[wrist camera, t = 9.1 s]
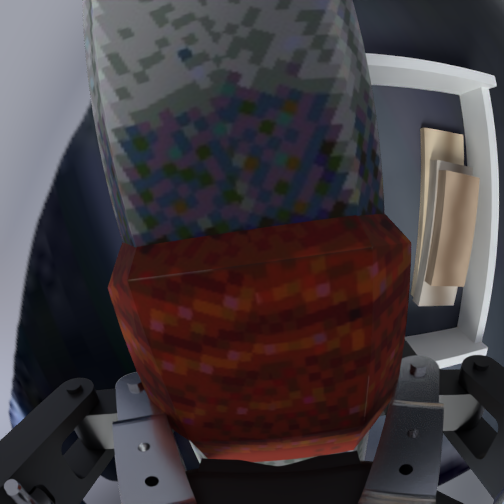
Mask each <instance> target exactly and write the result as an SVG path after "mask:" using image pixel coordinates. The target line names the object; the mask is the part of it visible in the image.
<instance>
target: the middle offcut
mask: <svg viewBox="0 0 504 504" xmlns="http://www.w3.org/2000/svg"><path fill="white" fill-rule="evenodd" d="M439 170H448V171H452V172H457V173H461V174H465V175H470V176H472V175H473V168H472V167H468V166H463V165H459V164H454V163H450V162H445V161H440V160H430V169H429V187H428V200H427V211H426V221H425V229H424V237H423V245H422V252H421V258H420V265H419V271H418V276H417V282H416V287H415V292H414V297H413V302H414V303H416V304H417V305H418V306H448V305H454V301H455V297H456V293H457V288H458V287H457V286H430V285H429V284H428V283H426V282H425V276H426V271H427V265H428V259H429V253H430V247H431V241H432V234H433V226H434V218H435V209H436V199H437V187H438V172H439Z"/></svg>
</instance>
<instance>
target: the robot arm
mask: <svg viewBox="0 0 504 504" xmlns="http://www.w3.org/2000/svg"><path fill="white" fill-rule="evenodd" d="M485 409H486V410H487V411H488V412H489V413H490V414H491V415H492V416H493V417H494V418H495V419H496V421H497V423H498V433H497V432H496V431H495V430H494V429H493V428H492V427H491V426H490V425H489V424H488V423H487V422H486V421H485V420H484V419H483V418H482V415H483V412H484V410H485ZM382 415H386V419H385V423H384V427H383V430H382V434H381V437H380V441H379V444H378V448H377V451H376V454H375V457H374V461H373V462H371V461H360V459H359V455H358V452H357V451H351V452H344V453H337V454H329V455H320V456H317V457H313V458H310V459H306V460H303V461H299V462H295V463H292V464H288V465H284V466H273V465H266V464H260V463H254V462H249V461H244V460H232V459H206V458H201V463H200V467H199V469H193V470H188V471H187V469H186V467H185V464H184V461H183V458H182V456H181V453H180V450H179V447H178V444H177V441H176V438H175V435H174V430H173V429H172V428H171V426H170V423H169V420H168V417H167V414H166V412H164V411H163V410H162V409H160V408H159V407H158V406H157V405H156V404H154V403H153V402H152V401H151V400H150V399H149V397H148V396H147V393H146V391H145V389H144V386H143V384H142V382H141V379H140V377H139V375H138V372H135V373H131V374H128V375H126V376H124V377H122V378H121V379H120V380H119V381H118V382H117V384H116V389H108V390H98V391H96V390H95V388H94V385H93V383H92V382H91V381H90V380H88V379H85V378H75V379H71V380H68V381H66V382H64V383H63V384H62V385H60V386H59V387H58V388H57V389H56V390H55V391H54V392H53V393H51V394H50V395H49V396H48V397H47V398H46V399H45V400H44V401H43V402H42V403H40V404H39V405H38V406H37V407H36V408H35V409H34V410H33V411H32V412H31V413H29V414H28V415H27V416H26V417H25V418H24V419H23V420H22V421H21V422H20V423H19V424H18V425H16V426H15V427H14V428H13V429H12V430H11V431H10V432H9V433H8V434H7V435H6V436H5V437H4V438H3V439H1V441H0V504H80V502H81V501H82V500H83V498H84V497H85V495H86V494H87V493H88V491H89V490H90V488H91V487H92V486H93V484H94V483H95V481H96V480H97V478H98V477H99V476H100V475H101V473H102V472H103V470H104V469H105V468H106V466H107V465H108V463H109V462H110V461H111V459H112V458H113V456H114V455H115V461H116V469H117V477H118V483H119V491H120V497H121V503H122V504H463V503H461V502H459V501H457V500H455V499H453V498H451V497H449V496H447V495H445V494H443V493H441V492H439V491H437V485H438V478H439V470H440V462H441V451H442V438H443V433H444V435H445V436H446V437H447V439H448V440H449V441H450V442H451V444H452V445H453V446H454V448H455V449H456V450H457V451H458V453H459V454H460V455H461V457H462V458H463V459H464V460H465V462H466V463H467V464H468V466H469V467H470V468H471V470H472V471H473V472H474V473H475V475H476V476H477V477H478V479H479V480H480V481H481V483H482V484H483V485H484V487H485V488H486V489H487V491H488V492H489V493H490V495H491V496H492V497H493V499H494V503H493V504H504V367H503V366H501V365H500V364H499V363H497V362H496V361H495V360H493V359H492V358H490V357H487V356H484V355H472V356H469V357H467V358H465V359H464V360H463V362H462V365H461V369H460V370H441V369H439V365H438V364H437V362H436V361H434V360H433V359H431V358H429V357H426V356H420V355H417V354H416V353H415V351H414V350H413V349H412V347H411V346H410V345H409V343H408V342H407V341H405V339H404V347H403V354H402V361H401V367H400V373H399V378H398V379H397V380H396V382H395V383H394V386H393V391H392V396H391V399H390V402H389V403H388V405H387V406H386V408H385V409H384V411H383V412H382V413H381V415H380V416H382ZM73 430H75V431H76V433H77V435H78V437H79V438H78V439H77V440H76V442H75V443H74V444H73V445H72V446H71V447H70V449H69V450H68V451H67V452H66V453H65V454H64V455H63V456H62V453H61V445H62V443H63V441H64V440H65V439H66V438H67V437H68V436H69V435H70V433H71V432H72V431H73Z"/></svg>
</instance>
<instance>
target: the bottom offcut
mask: <svg viewBox="0 0 504 504" xmlns="http://www.w3.org/2000/svg"><path fill="white" fill-rule="evenodd" d="M420 132H421V194H420V214H419V228H418V240H417V250H416V259H415V267H414V275H413V282H412V289H411V295H412V296H413V297H414V292H415V287H416V282H417V276H418V271H419V265H420V258H421V252H422V245H423V237H424V229H425V221H426V211H427V200H428V187H429V169H430V160H440V161H445V162H450V163H454V164H459V165H463V166H464V145H463V135H461V134H456V133H451V132H446V131H441V130H436V129H430V128H421V129H420Z"/></svg>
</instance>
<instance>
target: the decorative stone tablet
mask: <svg viewBox="0 0 504 504" xmlns="http://www.w3.org/2000/svg"><path fill="white" fill-rule="evenodd" d="M82 1H83V26H84V39H85V40H84V41H85V52H86V63H87V71H88V80H89V88H90V95H91V102H92V109H93V115H94V121H95V127H96V133H97V138H98V143H99V148H100V153H101V158H102V163H103V168H104V172H105V177H106V181H107V185H108V189H109V193H110V197H111V201H112V205H113V209H114V213H115V217H116V221H117V224H118V228H119V231H120V235H121V238H122V245H121V248H120V251H119V254H118V257H117V260H116V263H115V266H114V270H113V273H112V276H111V279H110V282H109V286H108V290H109V293H110V297H111V300H112V303H113V306H114V309H115V312H116V315H117V318H118V321H119V324H120V327H121V330H122V333H123V336H124V338H125V341H126V344H127V346H128V349H129V352H130V354H131V357H132V360H133V362H134V365H135V367H136V370H137V372H138V375H139V377H140V379H141V382H142V384H143V386H144V389H145V391H146V393H147V396H148V397H149V399H150V400H151V401H152V402H153V403H154V404H156V405H157V406H158V407H159V408H160V409H162V410H163V411H164V412H166V414H167V417H168V420H169V423H170V426H171V428H172V429H173V430H175V431H176V432H177V433H179V434H180V435H182V436H183V437H185V438H186V439H188V440H189V441H190V443H191V445H192V448H193V450H194V452H195V454H196V456H197V458H198V460H199V462H200V463H201V458H206V459H232V460H244V461H249V462H254V463H260V464H266V465H273V466H284V465H288V464H292V463H295V462H299V461H303V460H306V459H310V458H313V457H317V456H320V455H329V454H337V453H344V452H351V451H357V452H358V455H359V459H360V461H364V459H365V453H366V447H367V441H368V435H369V430H370V428H371V427H372V426H373V424H374V423H375V422H376V420H377V419H378V418H379V416H380V415H381V413H382V412H383V411H384V409H385V408H386V406H387V405H388V403H389V402H390V399H391V396H392V391H393V386H394V383H395V382H396V380H397V379H398V378H399V373H400V367H401V361H402V354H403V347H404V339H405V331H406V322H407V312H408V300H409V287H410V268H411V242H410V241H409V240H408V238H407V237H406V236H405V235H404V234H403V233H402V232H401V231H400V230H399V229H398V227H397V226H396V225H395V224H394V223H393V222H392V221H391V220H390V219H389V218H388V217H387V216H386V215H385V214H384V194H383V178H382V165H381V154H380V144H379V135H378V127H377V119H376V112H375V105H374V98H373V92H372V86H371V80H370V74H369V69H368V64H367V59H366V54H365V49H364V44H363V40H362V36H361V31H360V27H359V23H358V19H357V15H356V11H355V8H354V4H353V0H82Z"/></svg>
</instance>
